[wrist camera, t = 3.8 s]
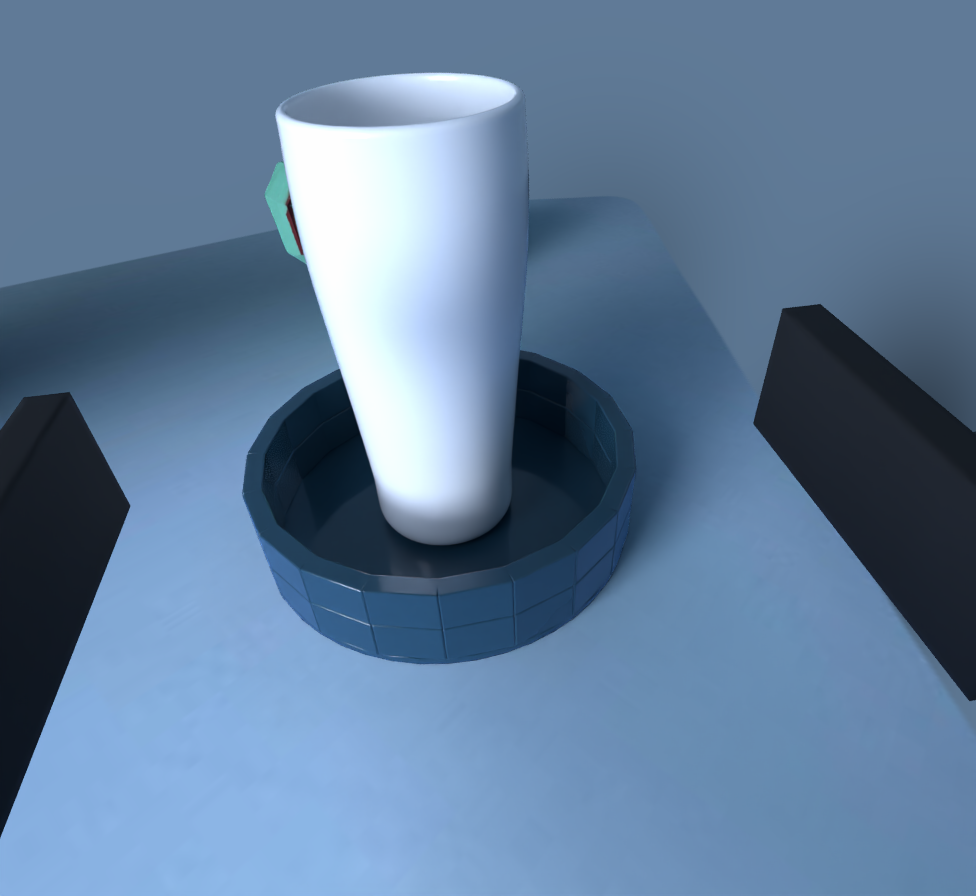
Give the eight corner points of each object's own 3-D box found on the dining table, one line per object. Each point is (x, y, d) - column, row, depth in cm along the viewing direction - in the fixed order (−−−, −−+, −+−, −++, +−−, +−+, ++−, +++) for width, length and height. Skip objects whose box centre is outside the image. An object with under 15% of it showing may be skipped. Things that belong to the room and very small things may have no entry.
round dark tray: (199, 525, 27) (169, 458, 25) (448, 374, 35) (442, 313, 33) (447, 754, 19) (435, 686, 17) (694, 493, 27) (708, 424, 25)
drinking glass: (501, 438, 30) (487, 63, 21) (555, 542, 25) (567, 109, 16) (353, 470, 29) (265, 86, 19) (378, 587, 24) (275, 144, 14)
